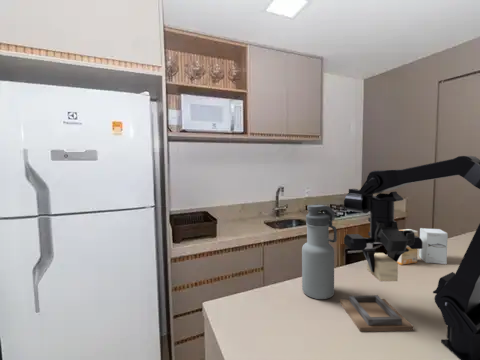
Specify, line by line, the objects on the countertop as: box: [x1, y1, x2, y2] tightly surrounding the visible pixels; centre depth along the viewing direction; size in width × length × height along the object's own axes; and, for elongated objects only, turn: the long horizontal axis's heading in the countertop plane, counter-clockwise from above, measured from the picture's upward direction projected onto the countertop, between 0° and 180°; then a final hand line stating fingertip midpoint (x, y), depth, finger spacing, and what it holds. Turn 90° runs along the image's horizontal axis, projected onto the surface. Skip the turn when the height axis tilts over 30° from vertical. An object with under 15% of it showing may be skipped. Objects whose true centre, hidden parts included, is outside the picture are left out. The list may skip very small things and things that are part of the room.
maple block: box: [366, 252, 399, 282], centre depth 72 cm, size 8×4×5 cm, turn 178°
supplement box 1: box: [397, 228, 419, 266], centre depth 105 cm, size 8×5×13 cm, turn 105°
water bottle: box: [301, 204, 338, 300], centre depth 82 cm, size 10×10×28 cm
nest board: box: [339, 294, 414, 332], centre depth 70 cm, size 13×13×2 cm
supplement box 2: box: [418, 227, 449, 265], centre depth 106 cm, size 7×7×13 cm
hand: (381, 271), depth 72 cm, fingers closed on maple block, 4 cm apart
